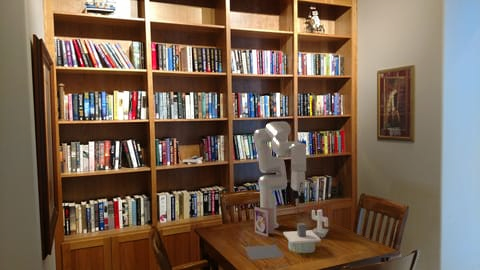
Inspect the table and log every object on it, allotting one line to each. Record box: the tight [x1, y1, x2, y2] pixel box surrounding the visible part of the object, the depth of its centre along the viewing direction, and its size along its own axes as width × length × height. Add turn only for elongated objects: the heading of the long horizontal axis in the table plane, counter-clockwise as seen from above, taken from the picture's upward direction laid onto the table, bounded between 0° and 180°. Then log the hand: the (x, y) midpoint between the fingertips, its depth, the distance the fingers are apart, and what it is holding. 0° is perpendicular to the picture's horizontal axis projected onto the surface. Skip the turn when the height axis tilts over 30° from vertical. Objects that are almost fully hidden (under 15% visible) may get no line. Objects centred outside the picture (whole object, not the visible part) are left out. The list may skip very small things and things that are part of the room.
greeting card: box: [254, 206, 275, 237], centre depth 218 cm, size 11×7×15 cm, turn 37°
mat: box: [244, 244, 285, 261], centre depth 189 cm, size 17×17×1 cm
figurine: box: [311, 208, 329, 239], centre depth 211 cm, size 7×9×15 cm
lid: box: [282, 222, 322, 244], centre depth 192 cm, size 15×15×7 cm
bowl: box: [287, 239, 316, 254], centre depth 193 cm, size 13×13×6 cm
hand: (298, 200), depth 193 cm, fingers open, 9 cm apart
